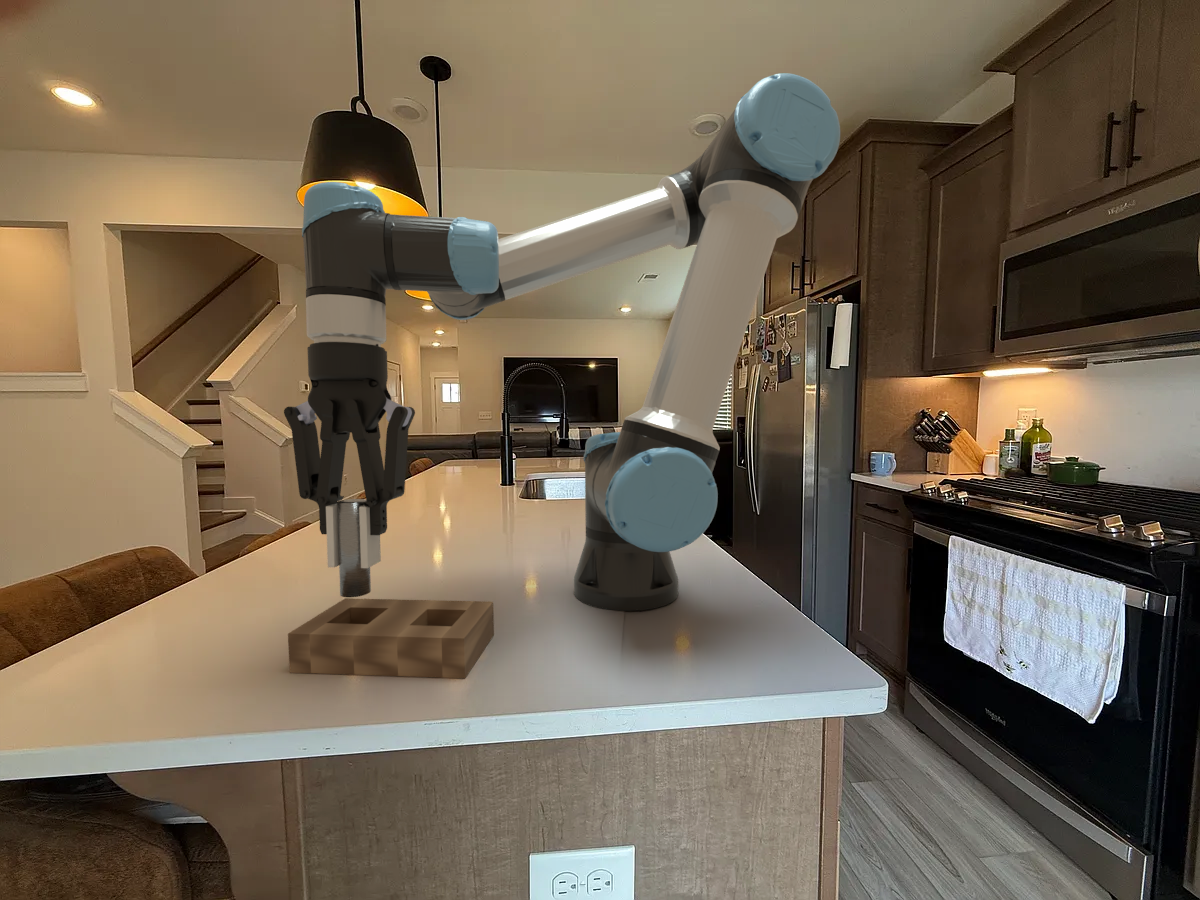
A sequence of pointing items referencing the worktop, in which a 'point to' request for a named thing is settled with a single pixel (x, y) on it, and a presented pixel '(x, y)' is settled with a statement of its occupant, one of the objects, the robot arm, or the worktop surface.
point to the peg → (351, 550)
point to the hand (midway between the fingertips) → (354, 563)
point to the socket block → (393, 638)
